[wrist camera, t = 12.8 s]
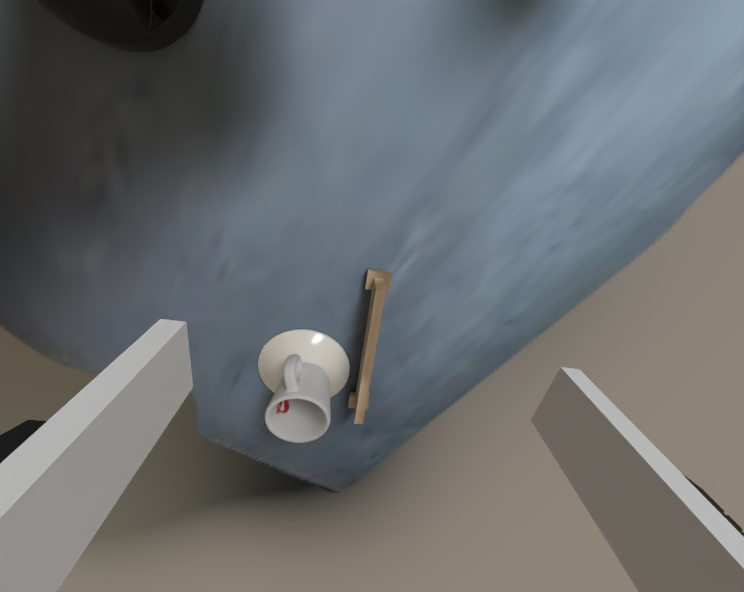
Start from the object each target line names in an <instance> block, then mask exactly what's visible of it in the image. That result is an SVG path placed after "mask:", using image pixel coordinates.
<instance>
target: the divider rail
mask: <svg viewBox="0 0 744 592" xmlns="http://www.w3.org/2000/svg"><path fill="white" fill-rule="evenodd" d="M391 278H392V272H391V271H383V270H375V269H368V270H367V277H366V284H365V289H366V290H372V291H371V297H370V304H369V310H368V317H367V323H366V329H365V336H364V342H363V349H362V355H361V362H360V368H359V375H358V381H357V388H356V392H354V391H350V395H349V402H348V408H354V424H363V419H364V414H365V409H368V404H369V399H370V393H368V391H369V385H370V380H371V374H372V369H373V363H374V357H375V352H376V346H377V340H378V335H379V329H380V323H381V318H382V312H383V307H384V301H385V295H386V292H389V289H390V283H391Z"/></svg>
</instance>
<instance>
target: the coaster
mask: <svg viewBox="0 0 744 592" xmlns="http://www.w3.org/2000/svg"><path fill="white" fill-rule="evenodd" d="M292 354H298V355H299V356H300V357H301V360H302V363H312V364H315V365H318V366H319V367H321V368H322V369H323V370H324V371H325V372H326V374H327V376H328V378H329V383H330V397H332V396H334V395H335V394H337V393H338V392H339V391H340V390H341V389H342V388H343V387H344V385H345V384H346V382H347V380H348V377H349V371H350V365H349V359H348V356H347V354H346V352H345V350H344V349H343V348H342V346H341V345H340V344H339V343H338V342H337V341H336V340H334V339H333V338H331V337H330V336H328V335H326V334H324V333H321V332H318V331H314V330H309V329H294V330H288V331H285V332H282V333H280V334H278V335H276V336H274V337H273V338H271V339H270V340H269V341H268V342H267V343H266V344H265V346H264V347H263V349H262V351H261V353H260V355H259V359H258V370H259V374H260V376H261V379H262V380H263V382H264V384H265V385H266V386H267V387H268V388H269V389H270V390H271V391H272V392H274V393H275V391H276V389H277V387H278V385H279V383H280V381H281V379H282V377H283V375H284V365H285V362H286V359H287V358H288V356H290V355H292Z"/></svg>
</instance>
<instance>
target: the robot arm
mask: <svg viewBox="0 0 744 592" xmlns="http://www.w3.org/2000/svg"><path fill="white" fill-rule="evenodd" d="M38 1H39V2H40V3H41V4H42V5H43V6H44V7H46V8H47V9H48V10H49V11H50V12H51V13H53V14H54V15H55V16H56V17H58V18H59V19H60V20H62V21H63V22H65V23H66V24H68V25H69V26H71V27H72V28H74V29H76V30H77V31H79V32H81V33H83V34H85V35H87V36H89V37H91V38H94V39H96V40H98V41H101V42H103V43H105V44H108V45H110V46H113V47H116V48H119V49H123V50H128V51H138V52H143V51H153V50H157V49H160V48H163V47H166V46H168V45H170V44H171V43H173V42H175V41H176V40H177V39H179V38H180V37H181V36H182V35H183V34H184V33H185V32H186V31H187V30H188V29H189V27H190V26H191V24H192V23H193V21H194V20H195V18H196V16H197V14H198V12H199V9H200V6H201V4H202V0H38ZM192 388H193V382H192V372H191V363H190V353H189V344H188V334H187V324H186V322H182V321H174V320H165V319H160V320H159V321H158V322H157V323H156V324H154V325H153V326H152V327H151V328H150V329H149V330H148V331H147V332H146V333H145V334H143V335H142V336H141V337H140V338H139V339H138V340H137V341H136V342H135V343H133V344H132V345H131V346H130V347H129V348H128V349H127V350H126V351H125V352H123V353H122V354H121V355H120V356H119V357H118V358H117V359H116V360H115V361H113V362H112V363H111V364H110V365H109V366H108V367H107V368H106V369H105V370H103V371H102V372H101V373H100V374H99V375H98V376H97V377H96V378H95V379H93V380H92V381H91V382H90V383H89V384H88V385H87V386H86V387H85V388H83V389H82V390H81V391H80V392H79V393H78V394H77V395H76V396H75V397H74V398H72V399H71V400H70V401H69V402H68V403H67V404H66V405H65V406H64V407H62V408H61V409H60V410H59V411H58V412H57V413H56V414H55V415H54V416H52V417H51V418H50V419H49V420H48V421H35V420H27V421H26V422H24V423H22V424H20V425H18V426H16V427H15V428H13V429H11V430H9V431H7V432H5V433H4V434H2V435H0V592H57V590H58V589H59V587H60V586H61V584H62V583H63V581H64V579H65V578H66V577H67V575H68V574H69V572H70V571H71V569H72V568H73V566H74V565H75V563H76V562H77V560H78V559H79V557H80V556H81V554H82V553H83V551H84V550H85V548H86V546H87V545H88V544H89V542H90V541H91V539H92V538H93V536H94V535H95V533H96V532H97V530H98V529H99V527H100V526H101V524H102V523H103V521H104V520H105V518H106V517H107V515H108V514H109V512H110V511H111V509H112V508H113V506H114V505H115V503H116V502H117V500H118V499H119V497H120V496H121V494H122V493H123V491H124V490H125V488H126V487H127V485H128V484H129V482H130V481H131V479H132V477H133V476H134V474H135V473H136V472H137V470H138V469H139V467H140V466H141V464H142V463H143V461H144V460H145V458H146V457H147V455H148V454H149V452H150V451H151V449H152V448H153V446H154V445H155V443H156V442H157V440H158V439H159V437H160V436H161V434H162V433H163V431H164V430H165V428H166V427H167V425H168V424H169V422H170V421H171V419H172V418H173V416H174V415H175V413H176V412H177V410H178V409H179V407H180V406H181V404H182V403H183V401H184V400H185V398H186V397H187V395H188V394H189V392H190V391H191V389H192ZM531 421H532V423H533V424H534V426H535V427H536V429H537V431H538V432H539V434H540V435H541V437H542V439H543V440H544V442H545V443H546V445H547V447H548V448H549V450H550V451H551V453H552V454H553V456H554V458H555V459H556V461H557V462H558V464H559V466H560V467H561V469H562V470H563V472H564V474H565V475H566V477H567V478H568V480H569V481H570V483H571V485H572V486H573V488H574V490H575V491H576V493H577V494H578V496H579V497H580V499H581V501H582V502H583V504H584V505H585V507H586V508H587V510H588V512H589V513H590V515H591V517H592V518H593V520H594V521H595V523H596V524H597V526H598V528H599V529H600V531H601V532H602V534H603V536H604V537H605V539H606V540H607V542H608V544H609V545H610V546H611V548H612V550H613V552H614V553H615V555H616V556H617V558H618V560H619V561H620V563H621V564H622V566H623V567H624V569H625V571H626V572H627V574H628V575H629V577H630V579H631V580H632V582H633V583H634V585H635V587H636V588H637V590H638V591H639V592H744V533H743V532H742V529H741V528H740V527H739V526H738V525H737V524H736V522H735V521H733V520H732V519H731V518H730V516H728V515H725V514H724V510H723V509H721V508H720V506H718V504H717V503H716V502H715V501H714V500H713V499H711V497H709V495H708V494H706V492H705V491H703V489H701V488H700V487H699V486H697V485H696V484H695V483H693V482H692V481H691V480H689V479H688V478H687V477H686V476H684V475H683V474H682V473H681V472H679V470H678V469H676V467H675V466H674V465H673V464H672V463H671V462H670V461H669V460H668V459H667V458H666V457H665V456H664V455H663V454H662V453H661V452H660V451H659V450H658V449H657V448H656V447H655V446H654V445H653V444H652V443H651V442H650V441H649V440H648V439H647V438H646V437H645V436H644V435H643V434H642V433H641V432H640V431H639V430H638V429H637V428H636V427H635V426H634V425H633V424H632V423H631V422H630V421H629V420H628V418H626V416H625V415H624V414H623V413H622V412H621V411H620V410H619V409H618V408H617V407H616V406H615V405H614V404H613V403H612V402H611V401H610V400H609V399H608V398H607V397H606V396H605V395H604V394H603V393H602V392H601V391H600V390H599V389H598V388H597V387H596V386H595V385H594V384H593V383H592V382H591V381H590V380H589V379H588V378H587V377H586V376H585V375H584V374H583V373H582V372H581V371H580V370H579V369H571V368H563V367H561V368H560V370H559V371H558V373H557V375H556V377H555V378H554V380H553V382H552V384H551V385H550V387H549V389H548V391H547V392H546V394H545V396H544V398H543V399H542V401H541V403H540V405H539V406H538V408H537V410H536V412H535V414H534V415H533V417H532V419H531Z"/></svg>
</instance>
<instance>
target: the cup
mask: <svg viewBox="0 0 744 592" xmlns="http://www.w3.org/2000/svg"><path fill="white" fill-rule="evenodd" d="M265 422H266V425H267V427H268V429H269V430H270V431H271V432H272V433H273V434H274V435H275V436H277V437H278V438H280V439H283V440H285V441H289V442H295V443H303V442H309V441H312V440H315V439H317V438H319V437H320V436H322V435H323V434H324V433H325V432H326V431H327V429H328V427H329V425H330V383H329V378H328V376H327V374H326V372H325V371H324V370H323V369H322V368H321V367H319V366H318V365H315V364H312V363H302V360H301V357H300V356H299V355H298V354H292V355H290V356H288V358H287V359H286V362H285V365H284V375H283V377H282V379H281V381H280V383H279V385H278V387H277V389H276V391H275V393H274V395H273V397H272V399H271V401H270V403H269V405H268V407H267V409H266V412H265Z"/></svg>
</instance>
